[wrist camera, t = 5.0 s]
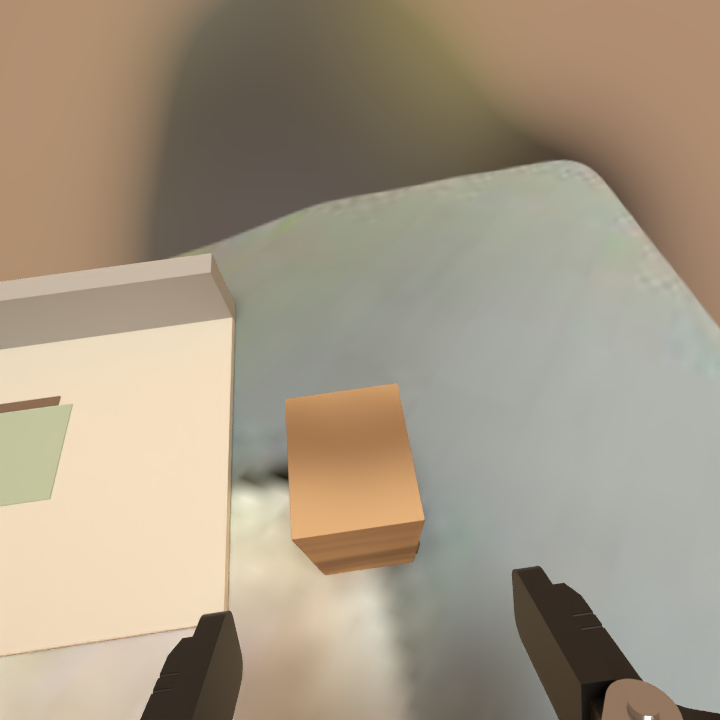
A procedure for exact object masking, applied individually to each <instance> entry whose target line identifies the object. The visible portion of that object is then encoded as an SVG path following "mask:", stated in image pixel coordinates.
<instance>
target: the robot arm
mask: <svg viewBox="0 0 720 720" xmlns="http://www.w3.org/2000/svg"><path fill="white" fill-rule="evenodd" d="M512 583H513V598H514V613H515V620H516V625H517V629H518V632H519V635H520V638H521V640H522V643H523V645H524V647H525V649H526V651H527V653H528V655H529V657H530V659H531V661H532V664H533V666H534V668H535V670H536V672H537V674H538V676H539V678H540V680H541V682H542V684H543V687H544V689H545V691H546V693H547V695H548V697H549V699H550V701H551V703H552V705H553V708H554V710H555V712H556V714H557V716H558V718H559V720H720V714H718V713H712V712H706V711H700V710H694V709H689V708H685V707H682V706H679V705H676V704H675V703H674V702H673V701H672V700H671V699H670V697H668V696H667V695H666V694H665V693H664V692H662V691H661V690H660V689H658V688H657V687H655V686H653V685H651V684H649V683H646V682H644V681H643V680H642V679H641V678H640V677H639V675H638V674H637V672H636V671H635V670H634V668H633V667H632V666H631V664H630V663H629V661H628V660H627V659H626V657H625V656H624V654H623V653H622V652H621V650H620V649H619V647H618V646H617V645H616V643H615V642H614V640H613V639H612V638H611V636H610V635H609V634H608V632H607V631H606V629H605V628H603V627H602V624H601V622H600V621H599V620H598V618H597V617H596V615H594V614H593V611H592V610H591V608H590V607H589V606H588V604H587V603H586V602H585V600H584V599H583V597H582V596H581V595H580V594H578V593H577V592H576V591H574V590H573V589H572V588H570V587H569V586H567V585H566V584H565V583H560V584H552V583H551V581H550V580H549V578H548V577H547V575H546V574H545V572H544V571H543V569H542V568H541V567H540V566H534V567H528V568H521V569H514V570H513V571H512ZM242 670H243V663H242V654H241V649H240V645H239V641H238V636H237V632H236V628H235V624H234V619H233V615H232V613H231V611H223V612H216V613H209V614H203V615H202V616H201V618H200V620H199V622H198V625H197V627H196V630H195V633H194V635H193V637H188V638H182V640H181V641H180V642H179V643H178V644H177V646H176V647H175V648H174V649H173V650H172V652H171V653H170V654H169V655H168V657H167V659H166V662H165V664H164V666H163V668H162V671H161V673H160V678H158V680H157V682H156V685H155V687H154V689H153V694H151V696H150V698H149V701H148V703H147V705H146V708H145V710H144V712H143V715H142V717H141V719H140V720H232V719H233V715H234V711H235V706H236V702H237V698H238V694H239V689H240V685H241V680H242Z"/></svg>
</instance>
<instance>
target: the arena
mask: <svg viewBox="0 0 720 720" xmlns="http://www.w3.org/2000/svg"><path fill="white" fill-rule="evenodd" d="M234 344H235V303H234V301H233V298H232V296H231V294H230V292H229V290H228V288H227V285H226V283H225V281H224V279H223V277H222V274H221V272H220V270H219V268H218V266H217V264H216V261H215V259H214V257H213V255H212V253H210V254H203V255H195V256H188V257H180V258H173V259H166V260H158V261H151V262H144V263H136V264H129V265H121V266H114V267H106V268H100V269H92V270H84V271H77V272H69V273H62V274H55V275H47V276H40V277H32V278H25V279H18V280H10V281H4V282H0V657H1V656H8V655H14V654H21V653H28V652H34V651H41V650H47V649H54V648H60V647H67V646H74V645H80V644H87V643H93V642H100V641H107V640H113V639H120V638H126V637H133V636H139V635H146V634H153V633H159V632H166V631H172V630H179V629H186V628H192V627H197V625H198V622H199V620H200V618H201V616H202V615H203V614H209V613H216V612H223V611H228V584H229V544H230V504H231V464H232V424H233V384H234Z"/></svg>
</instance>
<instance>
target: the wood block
mask: <svg viewBox="0 0 720 720" xmlns="http://www.w3.org/2000/svg"><path fill="white" fill-rule="evenodd" d="M285 405H286V427H287V449H288V471H289V493H290V515H291V537H292V541H293V542H294V543H295V544H296V545H297V546H298V547H299V548H300V549H301V550H302V551H303V552H304V553H305V554H306V555H307V556H308V558H309V559H310V560H311V561H312V562H313V563H314V564H315V565H316V566H317V567H318V568H319V569H320V570H321V571H322V572H323V573H324V574H325V575H329V574H336V573H342V572H349V571H356V570H362V569H369V568H376V567H382V566H389V565H396V564H402V563H409V562H413V560H414V556H415V554H417V552H418V549H419V546H420V542H419V538H420V535H421V531H422V528H423V524H424V520H425V519H424V514H423V509H422V504H421V499H420V494H419V489H418V484H417V479H416V474H415V469H414V464H413V459H412V454H411V449H410V444H409V439H408V434H407V429H406V425H405V420H404V415H403V410H402V405H401V400H400V395H399V390H398V385H397V383H396V384H389V385H382V386H375V387H368V388H361V389H354V390H347V391H340V392H333V393H326V394H319V395H311V396H304V397H297V398H290V399H285Z"/></svg>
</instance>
